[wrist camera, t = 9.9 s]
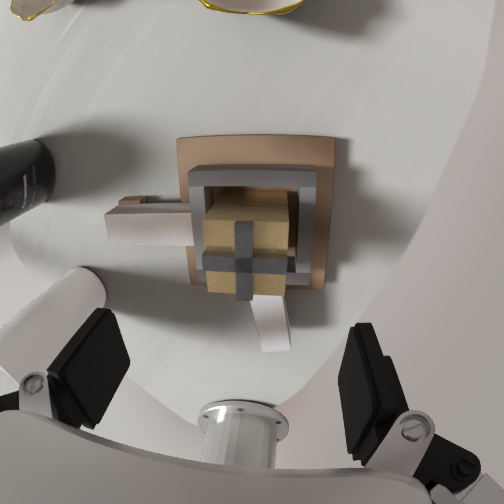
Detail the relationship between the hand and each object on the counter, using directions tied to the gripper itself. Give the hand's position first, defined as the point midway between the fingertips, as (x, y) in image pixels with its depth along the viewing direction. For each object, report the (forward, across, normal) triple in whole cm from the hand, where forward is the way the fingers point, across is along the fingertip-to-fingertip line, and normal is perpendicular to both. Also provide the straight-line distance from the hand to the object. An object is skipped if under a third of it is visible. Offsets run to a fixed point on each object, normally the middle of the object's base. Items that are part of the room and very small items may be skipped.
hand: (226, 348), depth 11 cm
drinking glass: (+14, +18, +7) cm, 24 cm away
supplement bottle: (+14, +22, -6) cm, 27 cm away
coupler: (+12, 0, -1) cm, 12 cm away
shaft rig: (+14, +3, +1) cm, 14 cm away
